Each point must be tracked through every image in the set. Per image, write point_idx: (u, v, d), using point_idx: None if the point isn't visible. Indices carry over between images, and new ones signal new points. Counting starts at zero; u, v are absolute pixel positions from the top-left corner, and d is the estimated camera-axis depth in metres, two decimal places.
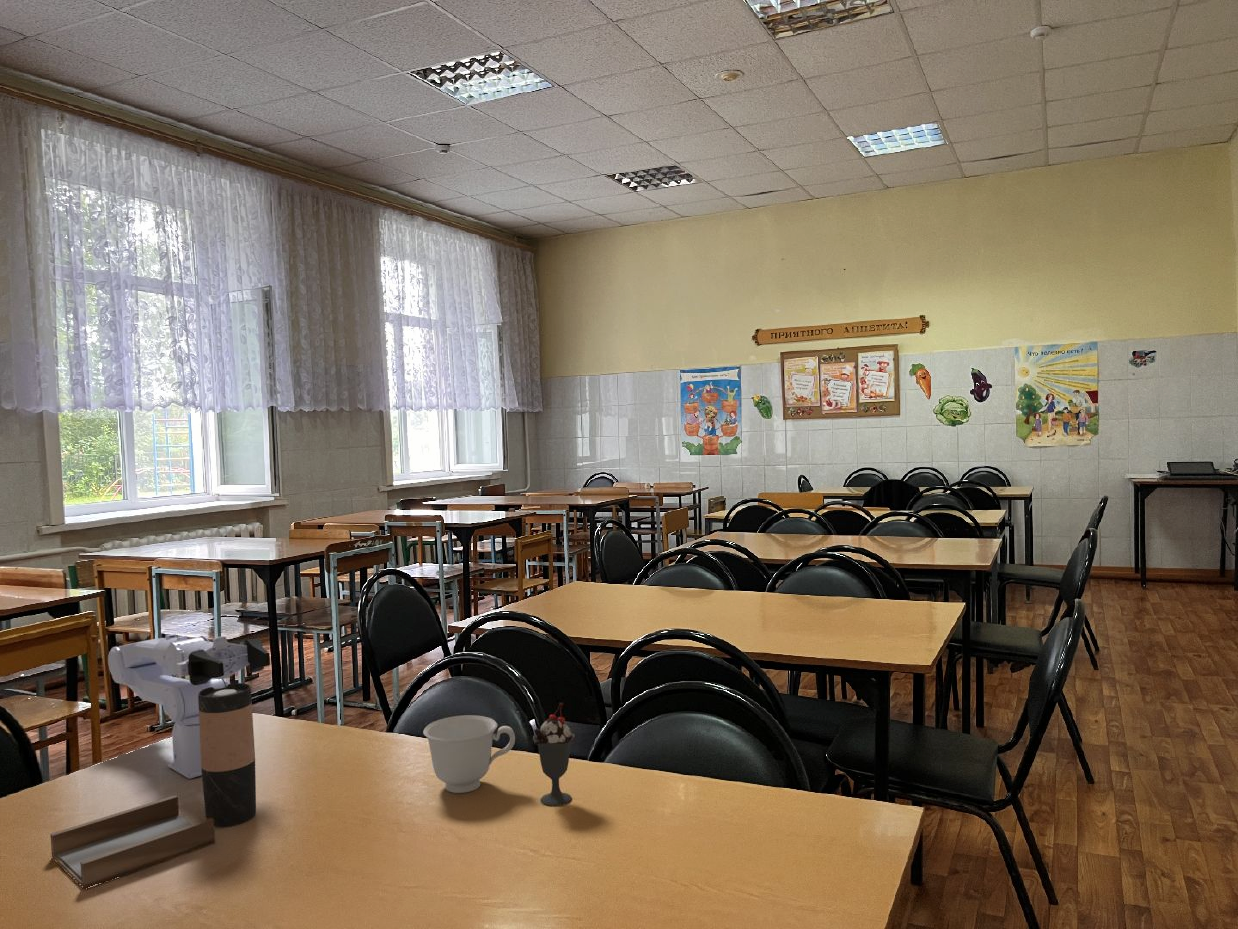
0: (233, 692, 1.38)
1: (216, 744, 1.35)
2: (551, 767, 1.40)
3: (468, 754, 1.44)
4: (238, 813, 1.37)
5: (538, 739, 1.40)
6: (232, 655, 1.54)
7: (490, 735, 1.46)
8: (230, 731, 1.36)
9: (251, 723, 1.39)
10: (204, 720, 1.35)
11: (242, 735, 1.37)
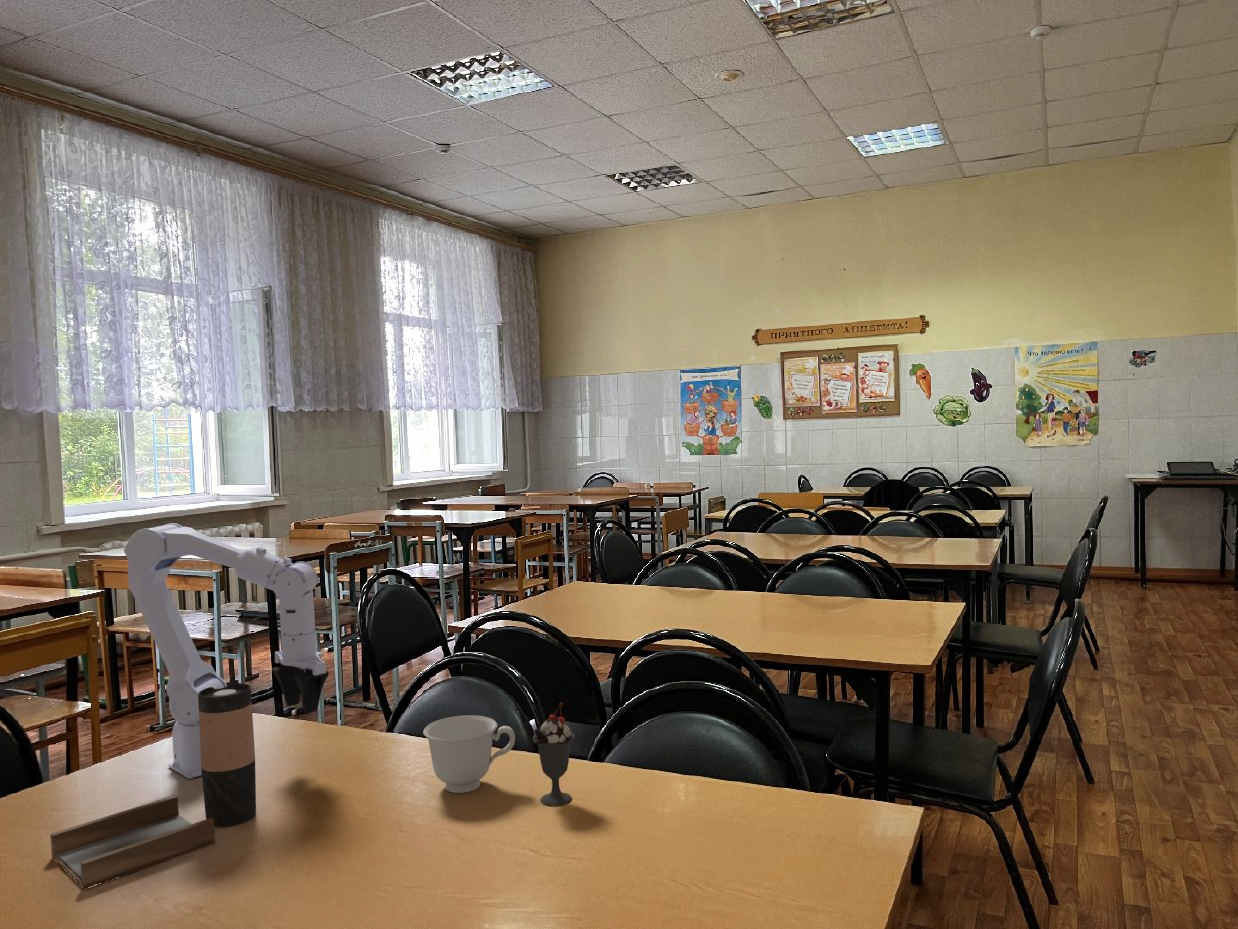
0: (233, 692, 1.38)
1: (216, 744, 1.35)
2: (551, 767, 1.40)
3: (468, 754, 1.44)
4: (238, 813, 1.37)
5: (538, 739, 1.40)
6: None
7: (490, 735, 1.46)
8: (230, 731, 1.36)
9: (251, 723, 1.39)
10: (204, 720, 1.35)
11: (242, 735, 1.37)
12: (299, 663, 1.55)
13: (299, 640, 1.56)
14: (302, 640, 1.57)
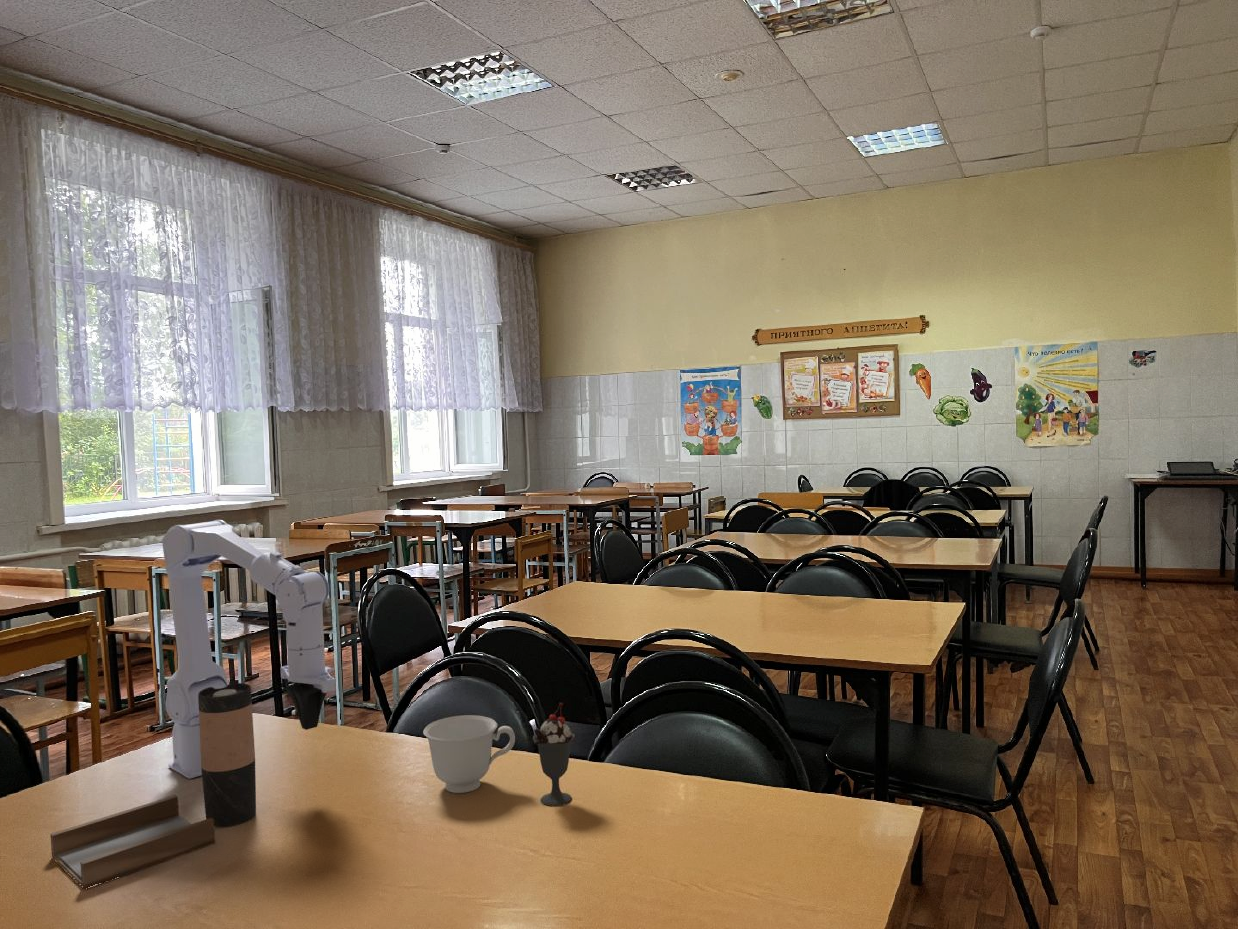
0: (233, 692, 1.38)
1: (216, 744, 1.35)
2: (551, 767, 1.40)
3: (468, 754, 1.44)
4: (238, 813, 1.37)
5: (538, 739, 1.40)
6: None
7: (490, 735, 1.46)
8: (230, 731, 1.36)
9: (251, 723, 1.39)
10: (204, 720, 1.35)
11: (242, 735, 1.37)
12: (307, 680, 1.45)
13: (307, 655, 1.46)
14: (310, 655, 1.46)
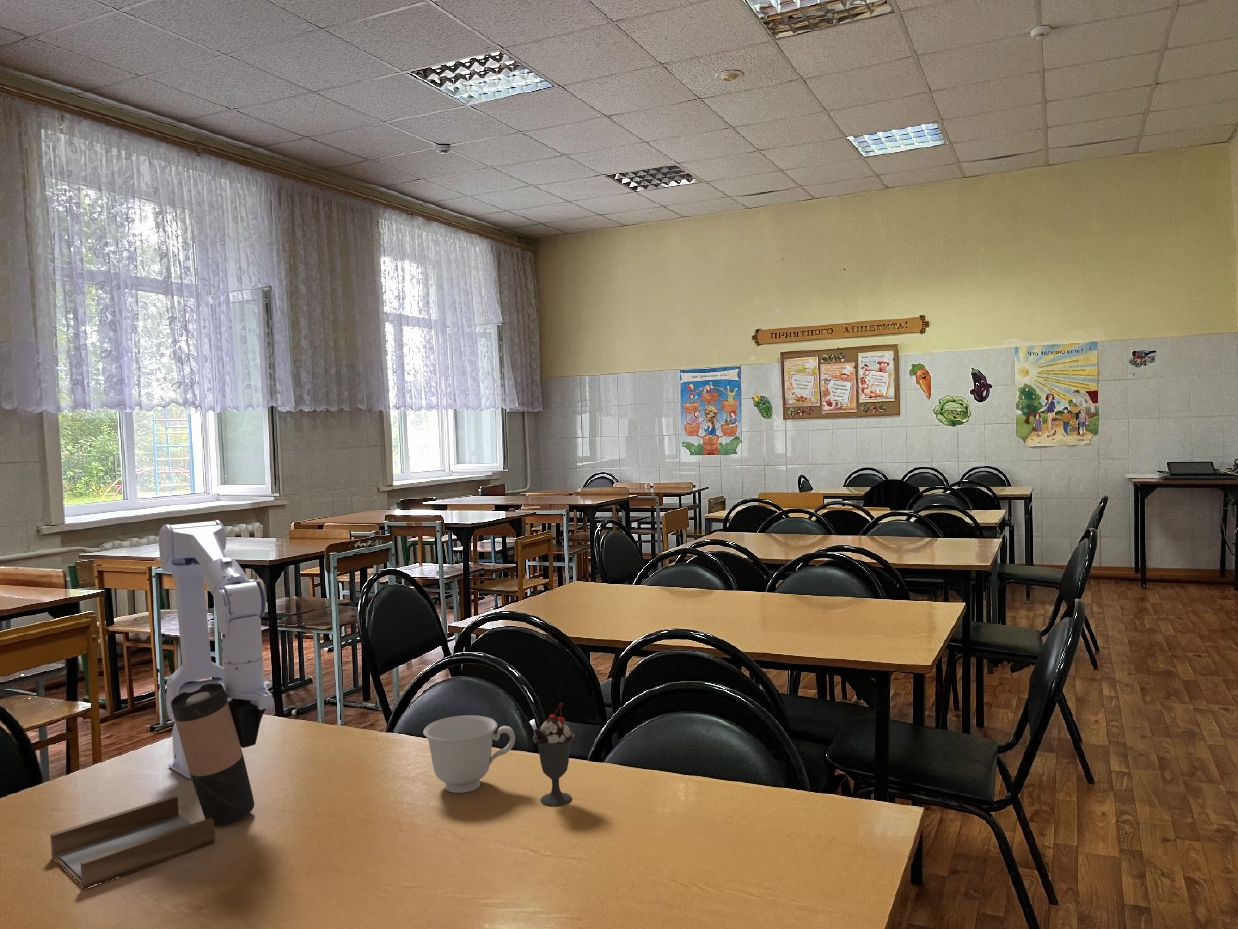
0: (206, 695, 1.35)
1: (198, 750, 1.33)
2: (551, 767, 1.40)
3: (468, 754, 1.44)
4: (235, 810, 1.36)
5: (538, 739, 1.40)
6: None
7: (490, 735, 1.46)
8: (210, 735, 1.33)
9: (231, 722, 1.37)
10: (181, 729, 1.33)
11: (223, 736, 1.35)
12: (243, 695, 1.37)
13: (243, 669, 1.38)
14: (246, 669, 1.38)
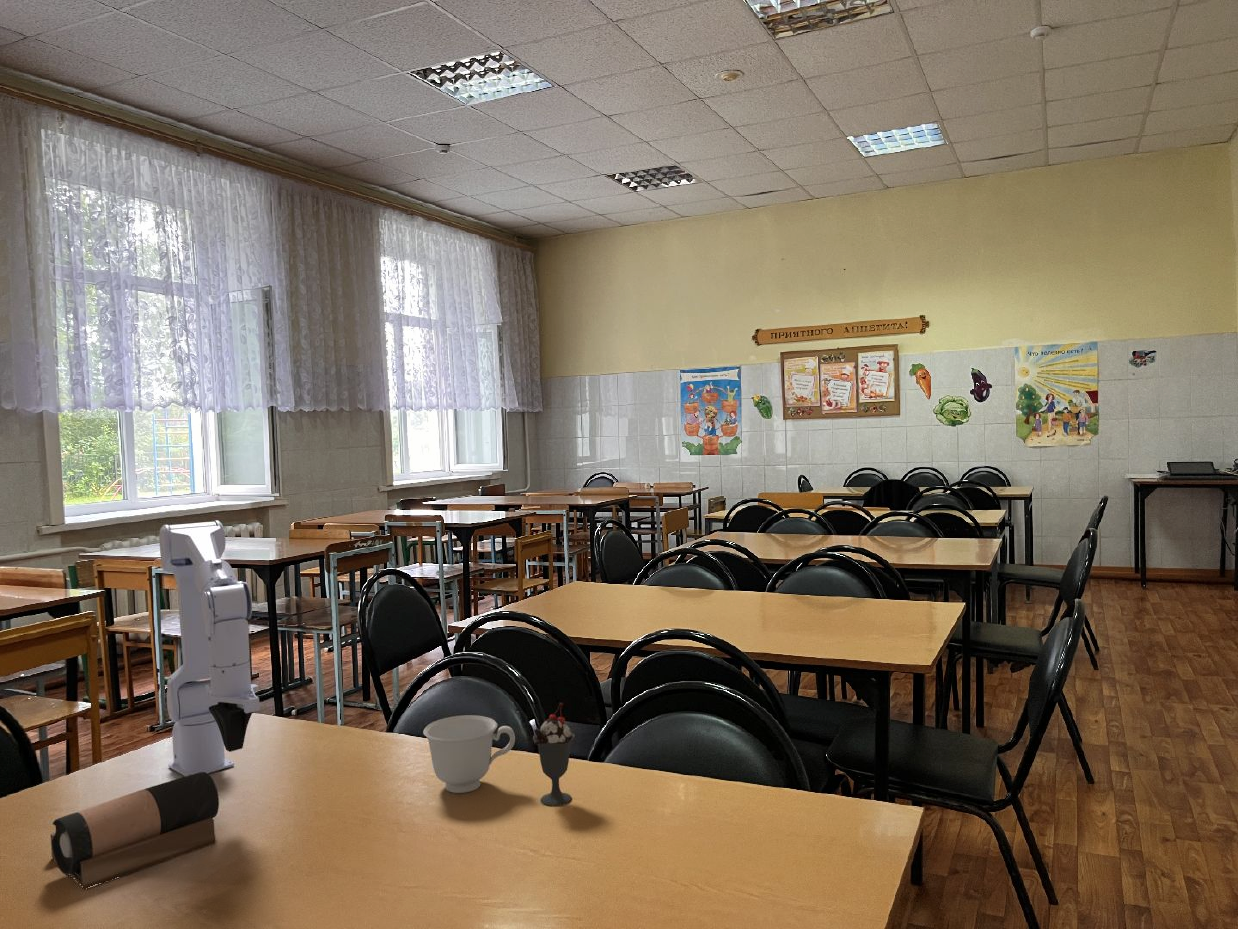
0: (67, 843, 1.20)
1: None
2: (551, 767, 1.40)
3: (468, 754, 1.44)
4: (207, 809, 1.33)
5: (538, 739, 1.40)
6: None
7: (490, 735, 1.46)
8: (116, 847, 1.23)
9: (112, 818, 1.23)
10: None
11: (124, 832, 1.23)
12: (229, 699, 1.35)
13: (229, 672, 1.37)
14: (233, 672, 1.37)
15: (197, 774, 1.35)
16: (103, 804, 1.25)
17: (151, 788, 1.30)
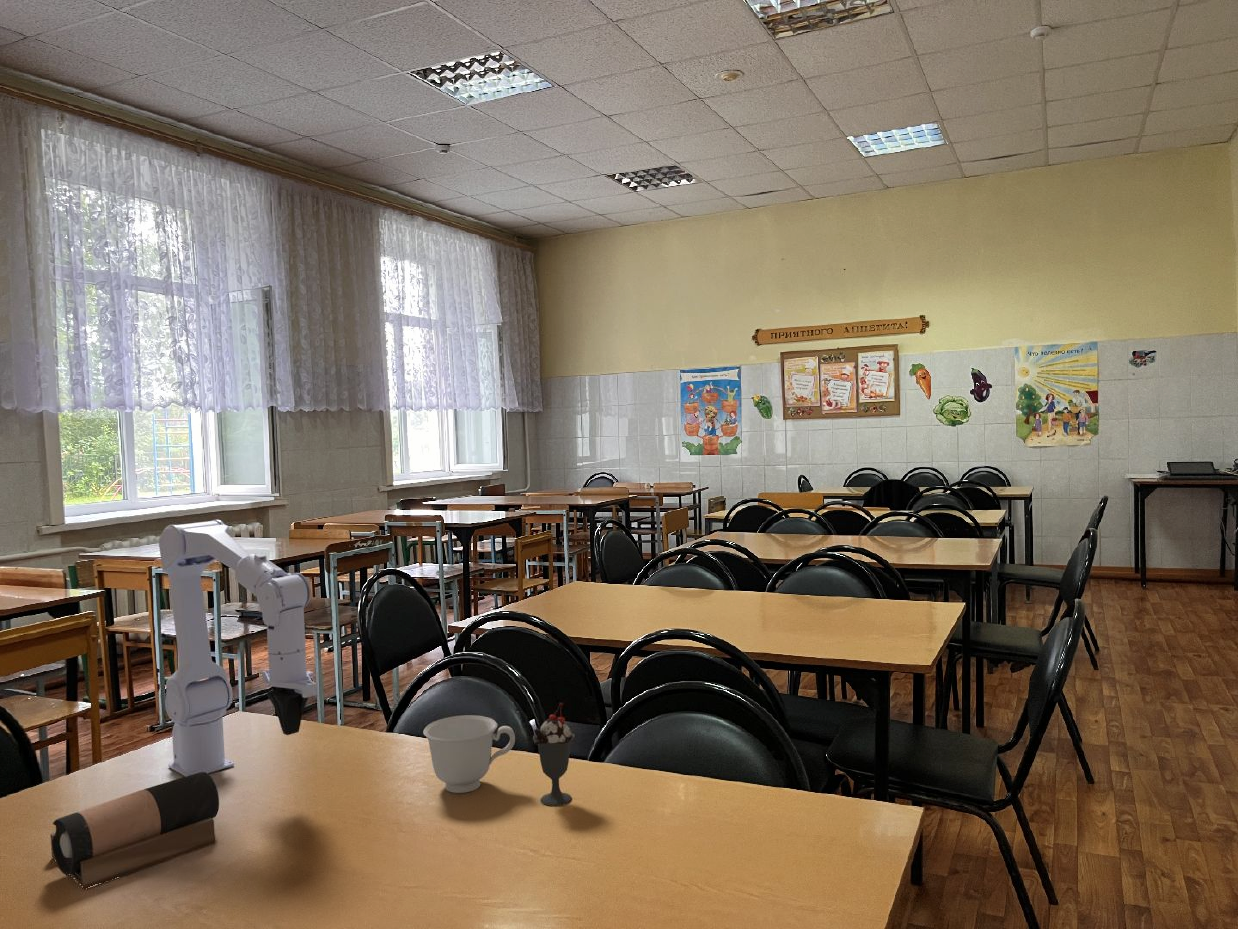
0: (68, 843, 1.20)
1: None
2: (551, 767, 1.40)
3: (468, 754, 1.44)
4: (208, 809, 1.33)
5: (538, 739, 1.40)
6: None
7: (490, 735, 1.46)
8: (116, 848, 1.23)
9: (112, 819, 1.23)
10: None
11: (124, 832, 1.23)
12: (287, 684, 1.42)
13: (287, 659, 1.43)
14: (291, 659, 1.44)
15: (197, 774, 1.35)
16: (103, 804, 1.25)
17: (151, 788, 1.30)
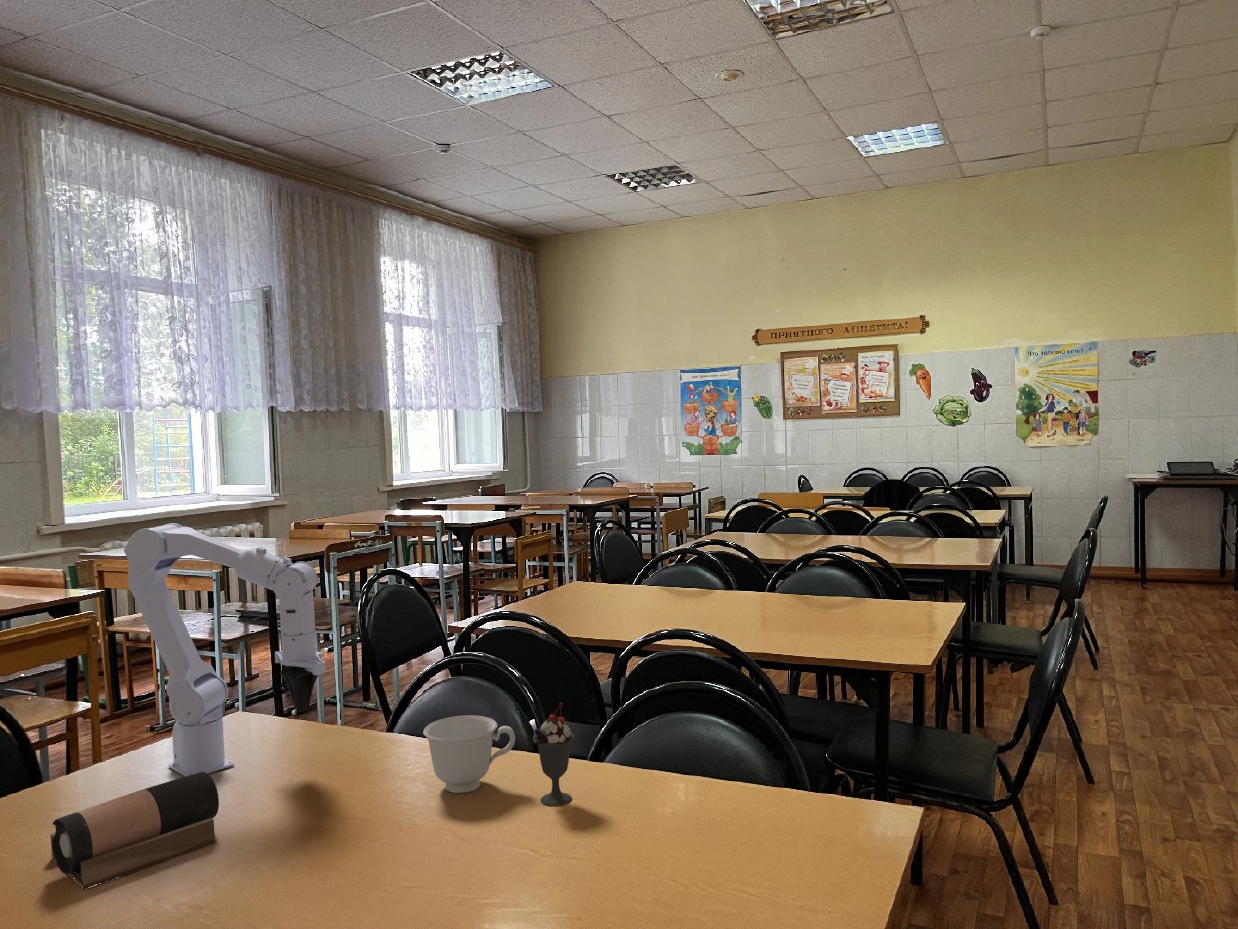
0: (67, 843, 1.20)
1: None
2: (551, 767, 1.40)
3: (468, 754, 1.44)
4: (207, 809, 1.33)
5: (538, 739, 1.40)
6: None
7: (490, 735, 1.46)
8: (116, 847, 1.23)
9: (112, 818, 1.23)
10: None
11: (124, 832, 1.23)
12: (299, 663, 1.55)
13: (299, 640, 1.56)
14: (302, 640, 1.57)
15: (197, 774, 1.35)
16: (103, 804, 1.25)
17: (151, 788, 1.30)
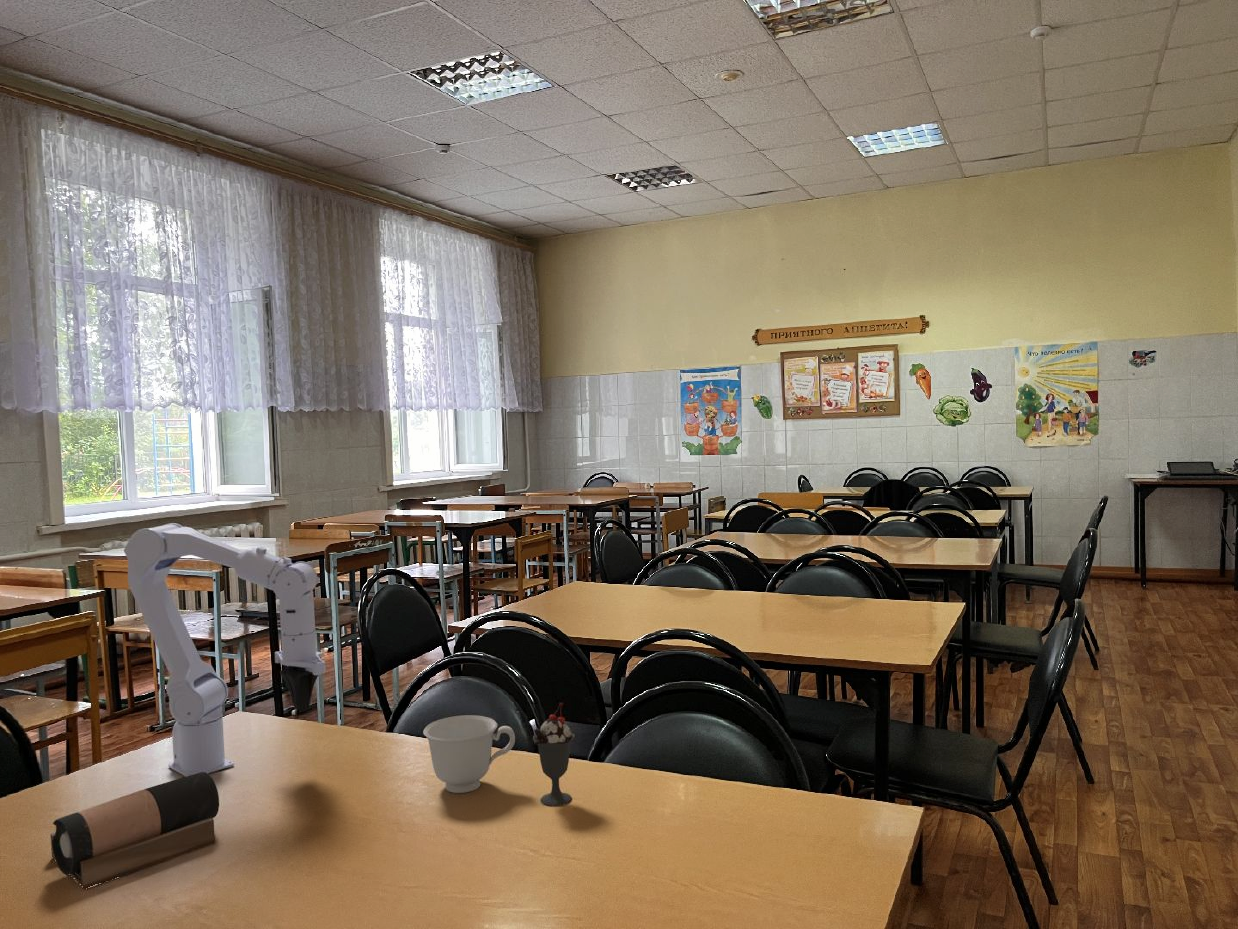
0: (68, 843, 1.20)
1: None
2: (551, 767, 1.40)
3: (468, 754, 1.44)
4: (208, 809, 1.33)
5: (538, 739, 1.40)
6: None
7: (490, 735, 1.46)
8: (116, 848, 1.23)
9: (112, 819, 1.23)
10: None
11: (124, 833, 1.23)
12: (299, 663, 1.55)
13: (299, 640, 1.56)
14: (302, 640, 1.57)
15: (197, 774, 1.35)
16: (103, 804, 1.25)
17: (151, 788, 1.30)
